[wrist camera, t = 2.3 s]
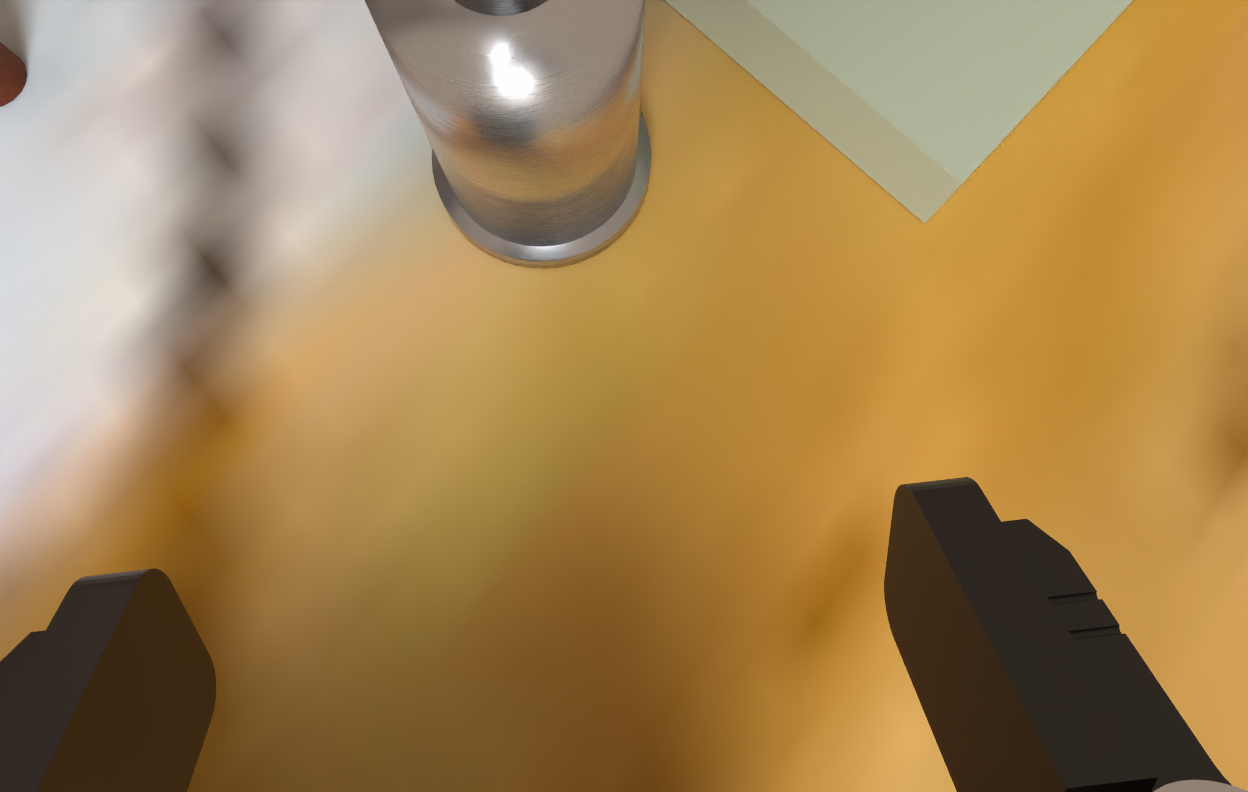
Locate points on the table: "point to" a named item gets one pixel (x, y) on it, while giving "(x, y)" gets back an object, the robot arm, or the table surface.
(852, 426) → the table surface
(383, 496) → the table surface
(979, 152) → the green plinth
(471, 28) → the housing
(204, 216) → the table surface
